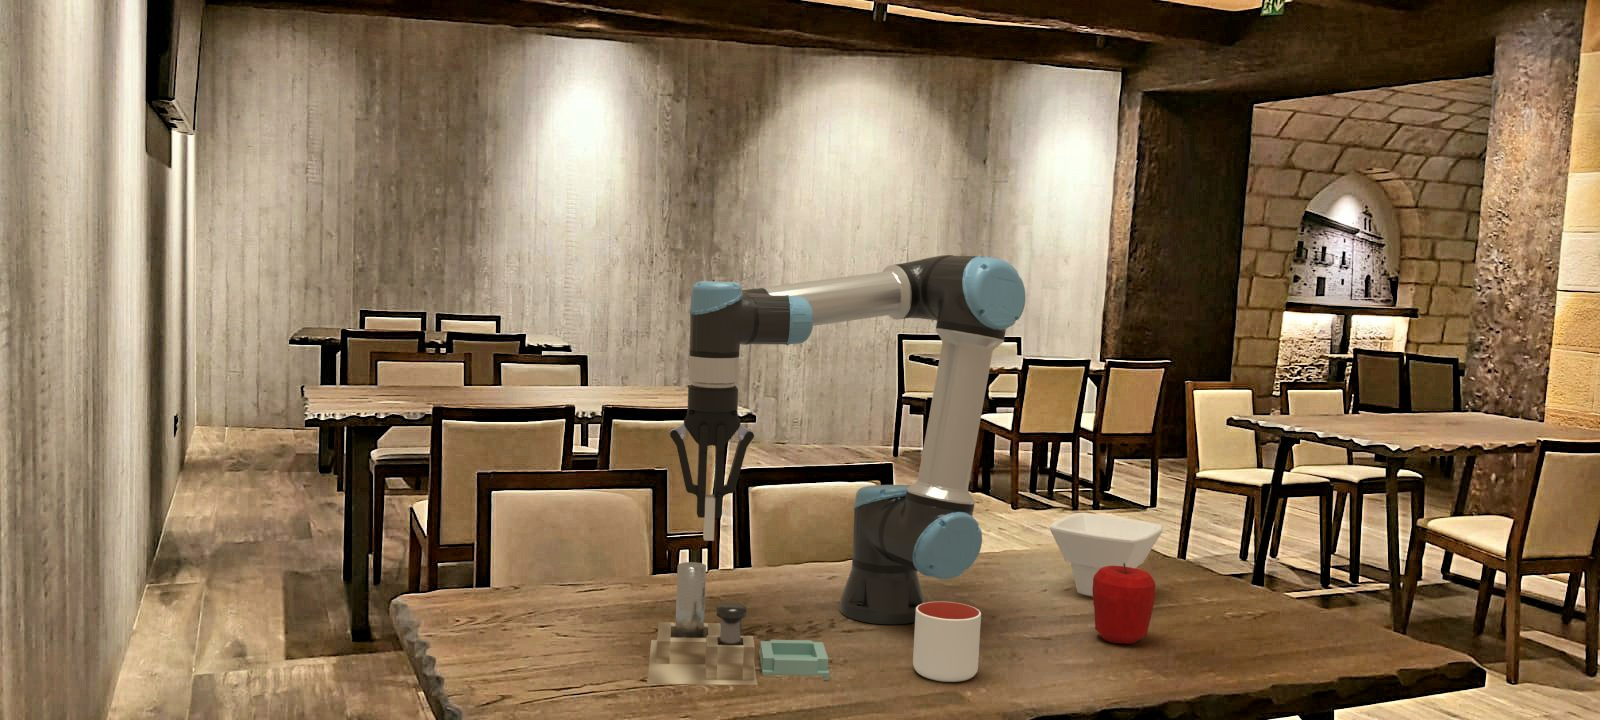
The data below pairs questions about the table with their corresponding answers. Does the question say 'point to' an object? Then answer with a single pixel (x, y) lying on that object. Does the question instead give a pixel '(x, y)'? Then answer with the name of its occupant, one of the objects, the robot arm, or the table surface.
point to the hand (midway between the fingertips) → (708, 538)
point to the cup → (946, 641)
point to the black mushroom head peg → (731, 622)
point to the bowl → (1102, 544)
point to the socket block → (700, 658)
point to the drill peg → (690, 600)
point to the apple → (1123, 603)
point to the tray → (793, 658)
